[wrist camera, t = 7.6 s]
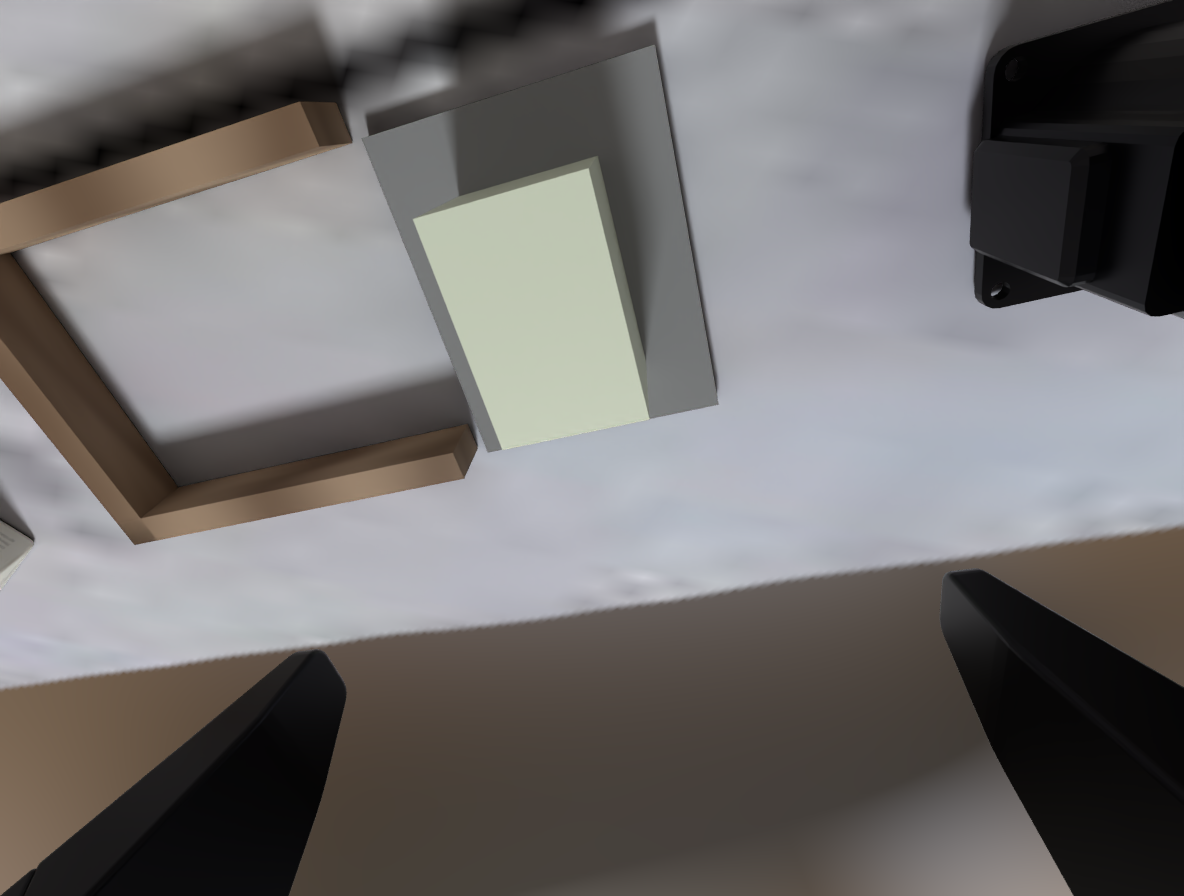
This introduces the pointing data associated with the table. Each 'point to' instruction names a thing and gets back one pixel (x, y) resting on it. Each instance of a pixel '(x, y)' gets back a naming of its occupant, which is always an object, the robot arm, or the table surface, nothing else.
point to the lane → (91, 414)
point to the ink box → (11, 551)
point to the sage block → (541, 303)
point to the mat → (550, 140)
